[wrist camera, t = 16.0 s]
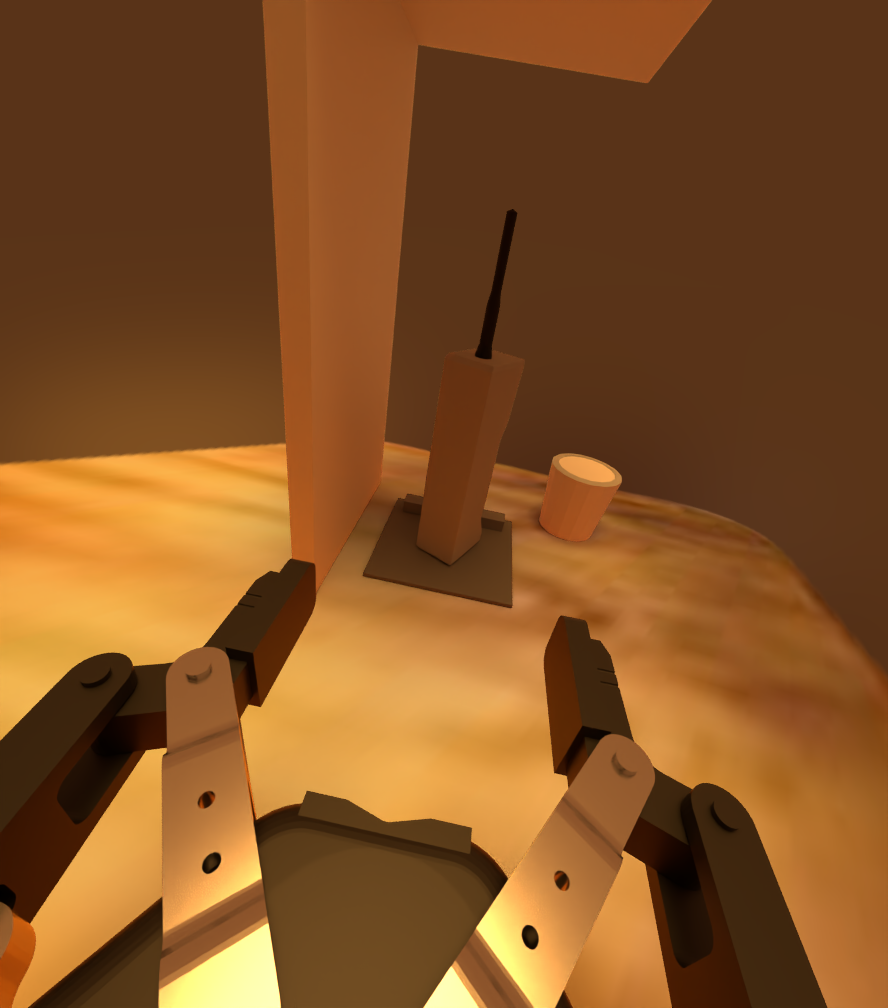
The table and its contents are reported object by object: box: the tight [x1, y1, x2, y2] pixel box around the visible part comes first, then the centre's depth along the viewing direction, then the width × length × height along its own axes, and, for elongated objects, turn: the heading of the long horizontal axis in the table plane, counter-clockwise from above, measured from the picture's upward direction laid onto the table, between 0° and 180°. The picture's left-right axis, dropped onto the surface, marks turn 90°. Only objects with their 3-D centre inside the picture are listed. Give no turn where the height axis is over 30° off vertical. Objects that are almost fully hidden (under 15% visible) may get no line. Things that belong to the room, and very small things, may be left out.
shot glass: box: [539, 454, 622, 542], centre depth 42 cm, size 7×7×7 cm
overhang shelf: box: [263, 0, 711, 608], centre depth 28 cm, size 17×18×36 cm
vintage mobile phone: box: [416, 209, 524, 565], centre depth 30 cm, size 4×5×25 cm
